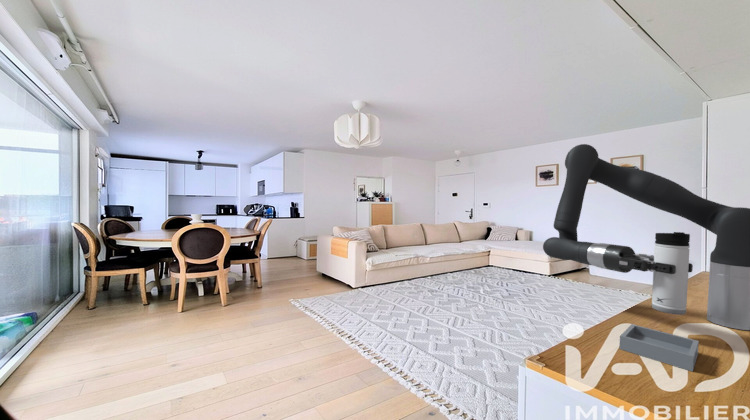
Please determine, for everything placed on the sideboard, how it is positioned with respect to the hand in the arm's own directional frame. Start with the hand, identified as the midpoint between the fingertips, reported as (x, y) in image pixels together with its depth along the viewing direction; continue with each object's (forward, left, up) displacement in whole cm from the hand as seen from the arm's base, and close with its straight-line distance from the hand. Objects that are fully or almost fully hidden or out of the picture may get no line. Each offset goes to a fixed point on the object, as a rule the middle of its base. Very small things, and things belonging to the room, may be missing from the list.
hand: (683, 269), depth 74 cm
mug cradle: (+11, +6, -18) cm, 22 cm away
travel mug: (+1, -2, -11) cm, 11 cm away
